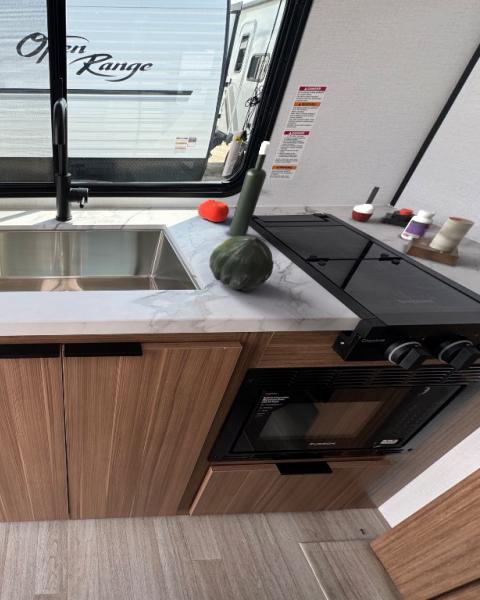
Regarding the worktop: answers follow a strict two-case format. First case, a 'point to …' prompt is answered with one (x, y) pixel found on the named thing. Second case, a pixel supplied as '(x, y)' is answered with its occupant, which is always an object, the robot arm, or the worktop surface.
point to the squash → (242, 262)
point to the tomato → (213, 210)
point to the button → (406, 212)
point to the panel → (431, 252)
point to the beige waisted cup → (451, 234)
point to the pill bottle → (418, 225)
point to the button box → (397, 219)
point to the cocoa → (365, 208)
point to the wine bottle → (249, 195)
